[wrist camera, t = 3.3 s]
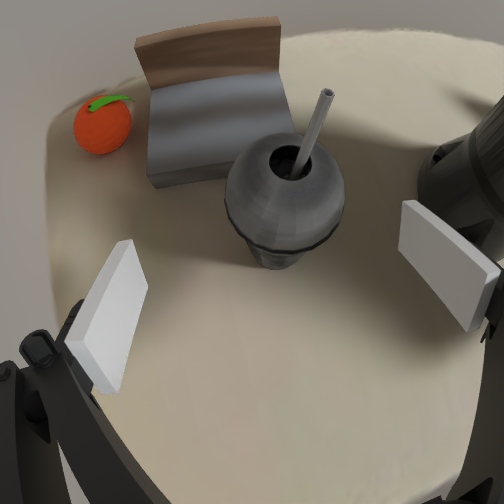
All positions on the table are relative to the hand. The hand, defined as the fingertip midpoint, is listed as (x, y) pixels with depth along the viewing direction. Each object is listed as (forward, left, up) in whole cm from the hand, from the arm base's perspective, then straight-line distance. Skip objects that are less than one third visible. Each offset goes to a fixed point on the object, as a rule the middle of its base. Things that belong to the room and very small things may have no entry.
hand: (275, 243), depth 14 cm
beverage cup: (-1, -4, -15) cm, 15 cm away
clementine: (+15, -20, -15) cm, 29 cm away
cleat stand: (+3, -18, -15) cm, 23 cm away
